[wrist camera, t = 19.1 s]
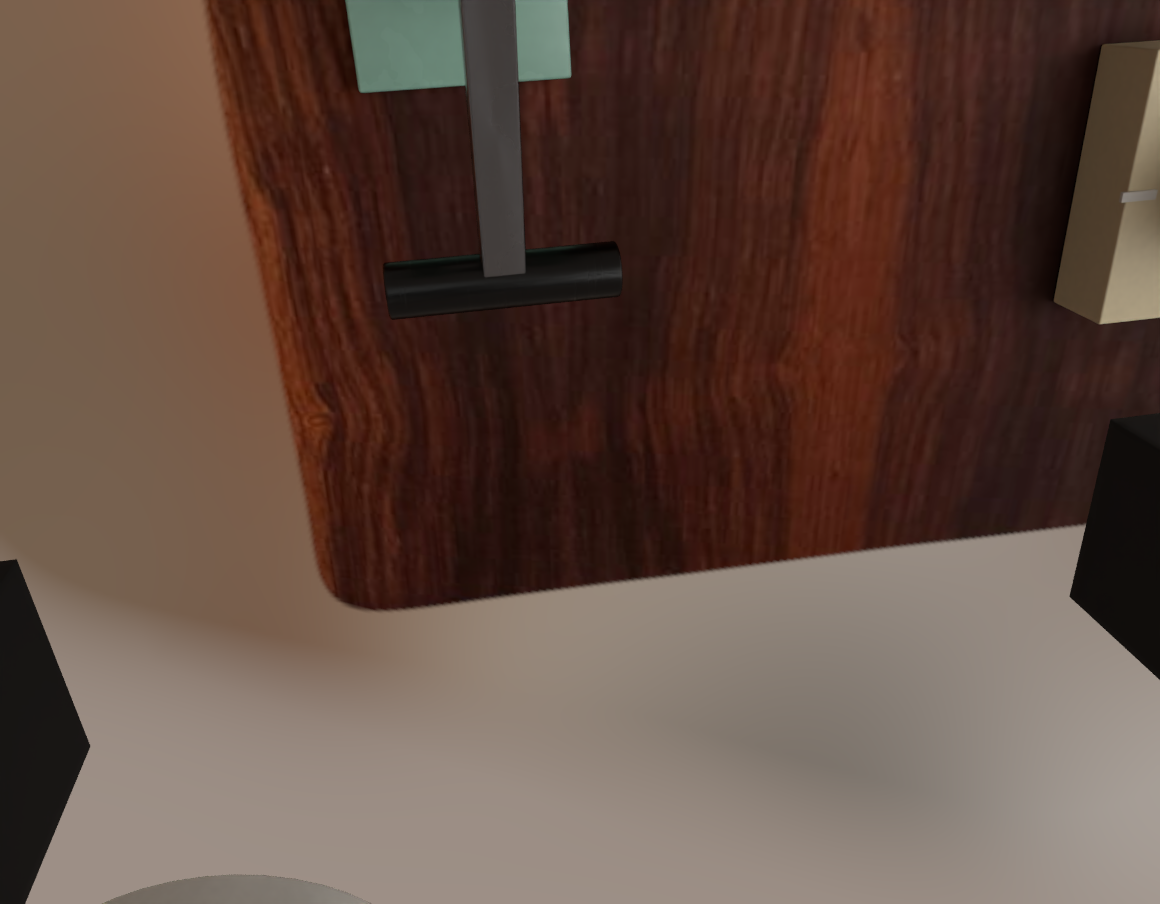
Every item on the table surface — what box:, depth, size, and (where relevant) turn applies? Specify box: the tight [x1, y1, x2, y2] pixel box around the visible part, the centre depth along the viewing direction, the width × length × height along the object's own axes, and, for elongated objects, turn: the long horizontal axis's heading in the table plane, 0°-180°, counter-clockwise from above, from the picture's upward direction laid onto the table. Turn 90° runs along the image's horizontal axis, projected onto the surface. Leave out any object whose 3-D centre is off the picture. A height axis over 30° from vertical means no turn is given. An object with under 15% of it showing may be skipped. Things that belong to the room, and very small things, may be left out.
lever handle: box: [383, 0, 622, 320], centre depth 20 cm, size 12×6×2 cm, turn 3°
